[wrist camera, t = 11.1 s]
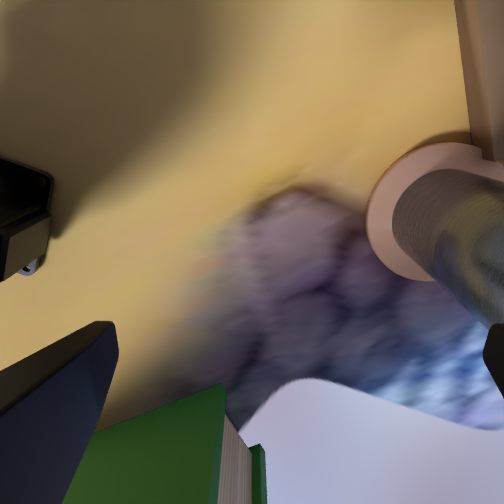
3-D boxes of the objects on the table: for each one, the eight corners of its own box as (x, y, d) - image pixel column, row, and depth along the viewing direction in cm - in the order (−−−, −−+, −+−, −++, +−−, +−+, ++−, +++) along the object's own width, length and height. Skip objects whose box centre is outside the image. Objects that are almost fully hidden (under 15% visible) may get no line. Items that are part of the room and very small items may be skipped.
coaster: (341, 249, 22) (344, 254, 21) (409, 118, 19) (416, 118, 18) (454, 292, 23) (461, 298, 22) (533, 174, 20) (544, 176, 19)
